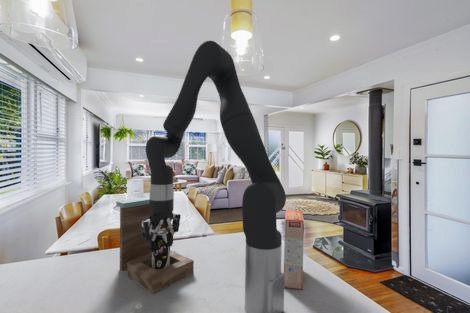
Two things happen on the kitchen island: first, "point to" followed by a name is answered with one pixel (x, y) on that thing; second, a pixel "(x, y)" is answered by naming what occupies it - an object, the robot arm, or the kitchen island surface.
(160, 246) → the beverage can
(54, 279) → the kitchen island surface
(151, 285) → the socket block
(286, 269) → the cracker box
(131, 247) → the grey-capped wooden panel
